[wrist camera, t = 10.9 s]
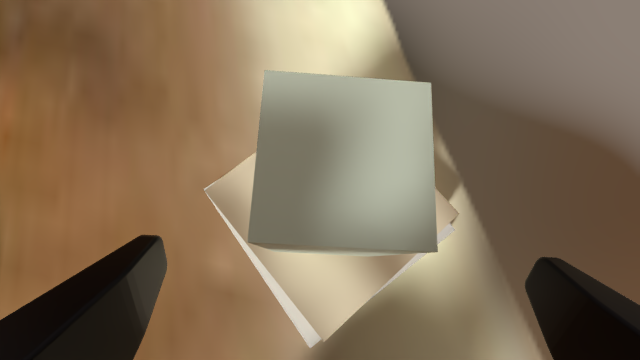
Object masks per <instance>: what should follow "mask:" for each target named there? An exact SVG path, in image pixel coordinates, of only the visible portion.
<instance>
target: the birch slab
mask: <svg viewBox="0 0 640 360" xmlns="http://www.w3.org/2000/svg"><path fill="white" fill-rule="evenodd" d="M255 161H256V152H255V153H254V154H253V155H251V156H250V157H249V158H247V159H246V160H245V161H243V162H242V163H241V164H239V165H238V166H237V167H235V168H234V169H233V170H231V171H230V172H229V173H227V174H226V175H224V176H223V177H222V178H220V179H219V180H218V181H216V182H215V183H214V184H212V185H211V186H210V187H208V188H207V189H206V190H205V192H206V193H207V194H208V196H209V197H210V198H211V199H212V201H213V202H214V203H215V204H216V206H217V207H218V208H219V210H220V211H221V212H222V213H223V215H224V216H225V217H226V218H227V220H228V221H229V222H230V223H231V225H232V226H233V227H234V229H235V230H236V231H237V232H238V234H239V235H240V236H241V237H242V239H243V240H244V241H245V243H246V244H247V245H248V246H249V248H250V249H251V250H252V251H253V253H254V254H255V255H256V256H257V258H258V259H259V260H260V262H261V263H262V264H263V265H264V267H265V268H266V269H267V270H268V272H269V273H270V274H271V276H272V277H273V278H274V279H275V281H276V282H277V283H278V284H279V286H280V287H281V288H282V289H283V291H284V292H285V293H286V295H287V296H288V297H289V298H290V300H291V301H292V302H293V303H294V305H295V306H296V307H297V309H298V310H299V311H300V312H301V314H302V315H303V316H304V317H305V319H306V320H307V321H308V322H309V324H310V325H311V326H312V328H313V329H314V330H315V331H316V333H317V334H318V335H319V336H320V338H321V339H322V340H323V342H325V341H326V340H327V339H328V338H329V337H330V336H331V335H332V334H333V333H334V332H335V331H336V330H337V329H338V328H339V327H340V326H342V325H343V324H344V323H345V322H346V321H347V320H348V319H349V318H350V317H351V316H352V315H353V314H354V313H355V312H356V311H357V310H358V309H359V308H360V307H362V306H363V305H364V304H365V303H366V302H367V301H368V300H369V299H370V298H371V297H372V296H373V295H374V294H375V293H376V292H377V291H378V290H379V289H380V288H382V287H383V286H384V285H385V284H386V283H387V282H388V281H389V280H390V279H391V278H392V277H393V276H394V275H395V274H396V273H397V272H398V271H399V270H401V269H402V268H403V267H404V266H405V265H406V264H407V263H408V262H409V261H410V260H411V259H412V258H413V257H414V256H415V255H416V254H417V253H416V254H400V255H385V256H369V257H367V256H348V255H328V254H309V253H289V252H273V251H271V250H268V249H265V248H262V247H259V246H257V245H254V244H251V243H248V242H247V241H248V231H249V221H250V211H251V201H252V191H253V181H254V171H255ZM435 197H436V223H437V234H438V233H440V232H441V231H442V230H443V229H444V228H445V227H446V226H447V225H448V224H449V223H450V222H451V221H452V220H453V219H454V218H455V217H456V216H457V215H458V214H459V213H458V212H457V211H456V209H455V208H454V207H453V206H452V205H451V204H450V203H449V202H448V201H447V200H446V199H445V198H444V197H443V196H442V194H441V193H440V192H439V191H438V190H437V189H436V188H435Z"/></svg>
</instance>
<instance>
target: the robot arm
mask: <svg viewBox="0 0 640 360" xmlns="http://www.w3.org/2000/svg"><path fill="white" fill-rule="evenodd" d="M166 270H167V259H166V254H165V250H164V245H163V241H162V238H161V237H160V236H157V235H141V236H139V237H137V238H135V239H133V240H132V241H130V242H129V243H127V244H125V245H124V246H122V247H120V248H119V249H117V250H115V251H114V252H112V253H110V254H109V255H107V256H105V257H104V258H102V259H100V260H99V261H97V262H96V263H94V264H92V265H91V266H89V267H87V268H86V269H84V270H82V271H81V272H79V273H77V274H76V275H74V276H72V277H71V278H69V279H67V280H66V281H64V282H63V283H61V284H59V285H58V286H56V287H54V288H53V289H51V290H49V291H48V292H46V293H44V294H43V295H41V296H39V297H38V298H36V299H34V300H33V301H31V302H30V303H28V304H26V305H25V306H23V307H21V308H20V309H18V310H16V311H15V312H13V313H11V314H10V315H8V316H6V317H5V318H3V319H1V320H0V360H133V359H134V357H135V354H136V352H137V350H138V348H139V346H140V343H141V341H142V339H143V337H144V334H145V332H146V329H147V326H148V323H149V320H150V318H151V315H152V312H153V309H154V306H155V303H156V300H157V297H158V294H159V291H160V288H161V285H162V282H163V279H164V277H165V274H166ZM525 289H526V292H527V295H528V298H529V300H530V302H531V305H532V308H533V310H534V313H535V316H536V318H537V321H538V323H539V326H540V328H541V331H542V333H543V336H544V339H545V341H546V344H547V346H548V348H549V351H550V353H551V355H552V357H553V359H554V360H640V305H638V304H637V303H635V302H633V301H632V300H630V299H628V298H626V297H625V296H623V295H621V294H620V293H618V292H616V291H615V290H613V289H611V288H609V287H608V286H606V285H604V284H602V283H601V282H599V281H597V280H596V279H594V278H592V277H591V276H589V275H587V274H585V273H584V272H582V271H580V270H579V269H577V268H575V267H573V266H571V265H570V264H568V263H566V262H565V261H563V260H561V259H559V258H552V257H551V258H550V257H541V258H539V259H538V260H537V261H536V263H535V264H534V266H533V268H532V270H531V272H530V273H529V275H528V277H527V279H526V281H525Z"/></svg>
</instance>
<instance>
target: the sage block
mask: <svg viewBox="0 0 640 360" xmlns="http://www.w3.org/2000/svg"><path fill="white" fill-rule="evenodd" d="M247 242H248V243H251V244H254V245H257V246H259V247H262V248H265V249H268V250H271V251H273V252H289V253H309V254H328V255H348V256H367V257H369V256H385V255H400V254H416V253H431V252H438V249H437V223H436V197H435V171H434V145H433V120H432V95H431V83H427V82H414V81H401V80H388V79H375V78H362V77H349V76H336V75H323V74H310V73H297V72H283V71H270V70H265V72H264V82H263V92H262V102H261V112H260V122H259V132H258V142H257V152H256V161H255V171H254V181H253V191H252V201H251V211H250V221H249V231H248V241H247Z"/></svg>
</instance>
